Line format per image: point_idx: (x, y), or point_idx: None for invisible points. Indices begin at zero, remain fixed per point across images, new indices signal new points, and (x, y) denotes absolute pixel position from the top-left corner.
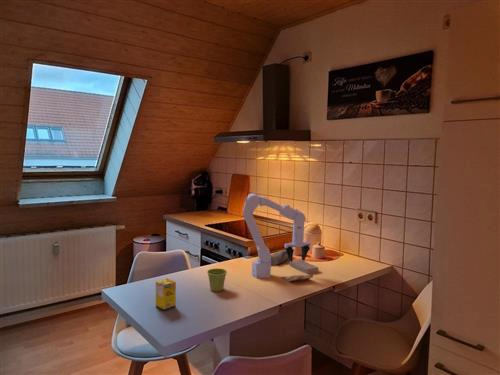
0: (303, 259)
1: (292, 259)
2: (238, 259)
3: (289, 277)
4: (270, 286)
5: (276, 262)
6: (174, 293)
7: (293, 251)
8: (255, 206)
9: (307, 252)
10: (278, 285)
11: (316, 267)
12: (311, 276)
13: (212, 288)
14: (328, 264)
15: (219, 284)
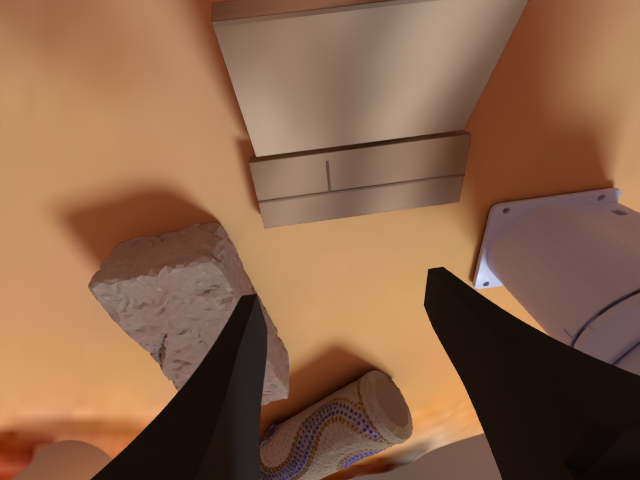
0: (257, 306)
1: (444, 283)
2: (466, 435)
3: (395, 182)
4: (624, 53)
5: (368, 389)
6: None
7: (550, 387)
8: None
9: (174, 397)
10: (550, 62)
11: (107, 286)
12: (235, 4)
13: None
14: (13, 388)
15: None
